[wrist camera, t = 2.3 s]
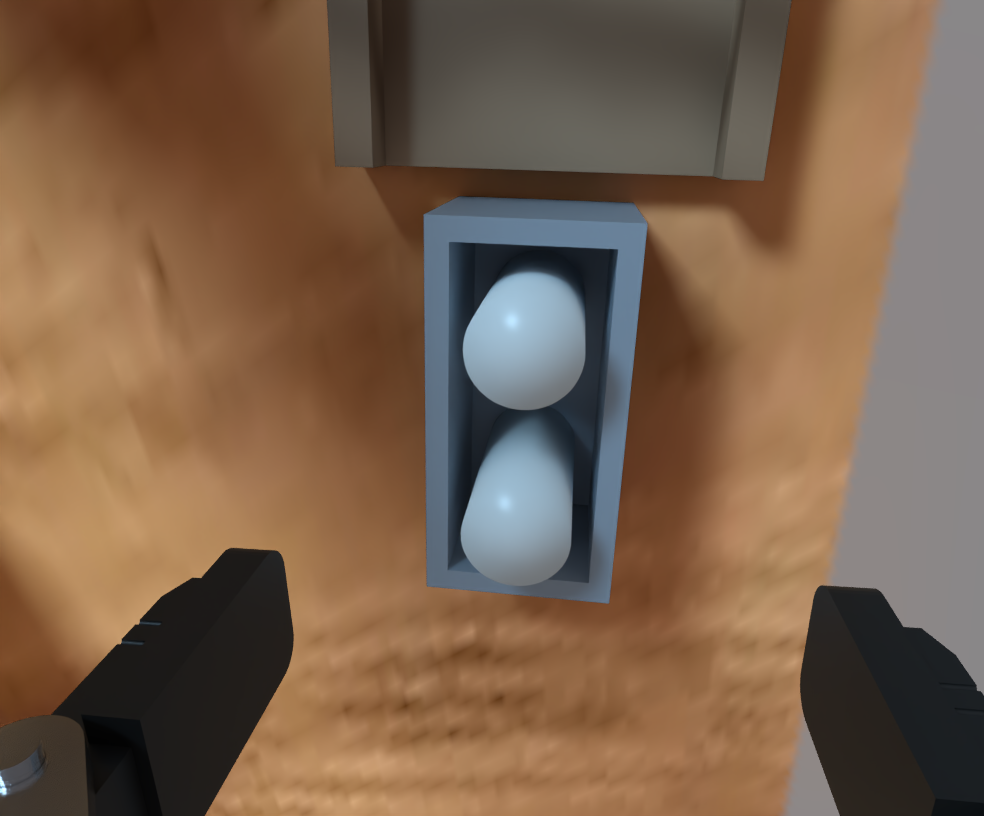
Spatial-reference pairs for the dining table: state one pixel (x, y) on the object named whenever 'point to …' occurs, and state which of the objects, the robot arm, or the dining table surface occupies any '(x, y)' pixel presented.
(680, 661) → the dining table surface
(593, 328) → the caddy
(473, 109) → the shelf
